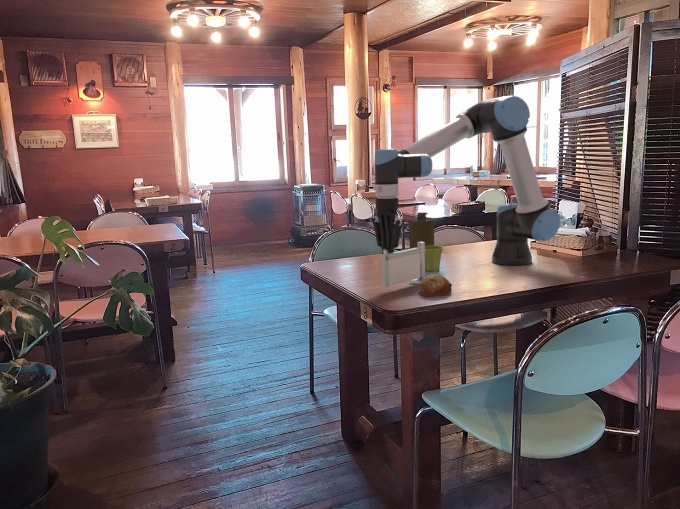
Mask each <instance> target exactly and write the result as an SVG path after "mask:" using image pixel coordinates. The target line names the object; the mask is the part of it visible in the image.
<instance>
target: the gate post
mask: <svg viewBox="0 0 680 509" xmlns="http://www.w3.org/2000/svg"><path fill="white" fill-rule="evenodd" d="M417 244H418V248H420V278H417V279H413V280H410V281H409V284H412V285H421V282H422V280H423V279H424V278H425V277H426V271H425V242H417Z"/></svg>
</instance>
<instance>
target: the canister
mask: <svg viewBox="0 0 680 509" xmlns="http://www.w3.org/2000/svg"><path fill="white" fill-rule="evenodd" d="M427 215H429V213H428V212H426V211H425V212H421V211H420V212H419V211H418V212H417V216H416V217H413V218H408V227H409V228H408V231H409V232H408V237H409V238H408V242H409V249H412V248H418V244H417V242H425V246H435V221H436V220H435V218H432V217H427Z"/></svg>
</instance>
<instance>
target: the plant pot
mask: <svg viewBox="0 0 680 509" xmlns="http://www.w3.org/2000/svg"><path fill="white" fill-rule="evenodd" d="M443 249H444V246H441V245H434V246H425V272H429V271H430V272H438V271H439V270H440V268H441V259H442V254H443Z"/></svg>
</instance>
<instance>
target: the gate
mask: <svg viewBox="0 0 680 509" xmlns="http://www.w3.org/2000/svg"><path fill="white" fill-rule="evenodd" d="M380 256H381V257H380V260H381V287H382V288H389V287H391V286H394V285H398V284H402V283H405V282H410V280H413V279H417V278H420V248H412V249H410V248H408V249H403V250H399V251H393V253H389V254H382V253H381V255H380Z"/></svg>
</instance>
